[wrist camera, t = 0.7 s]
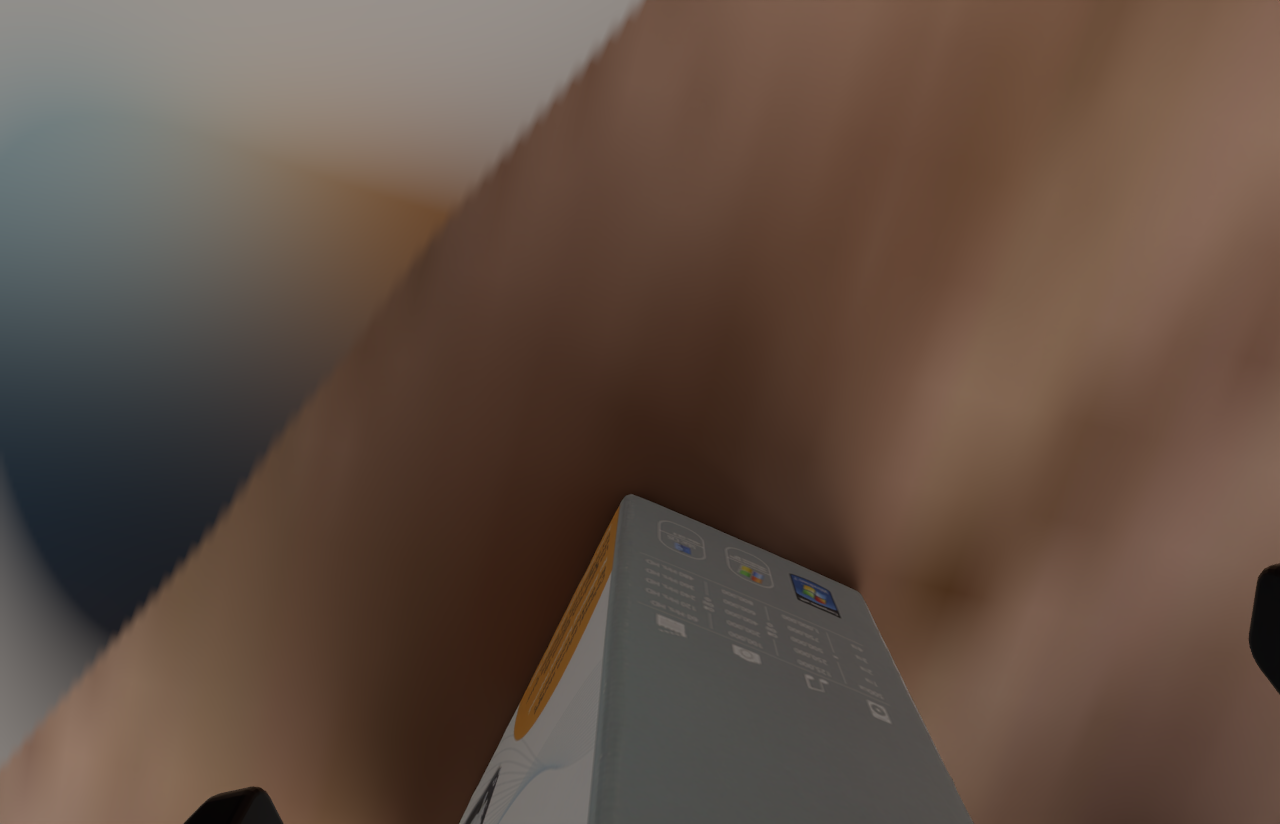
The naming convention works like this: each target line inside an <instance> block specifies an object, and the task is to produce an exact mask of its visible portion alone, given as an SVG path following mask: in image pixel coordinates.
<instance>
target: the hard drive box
mask: <svg viewBox="0 0 1280 824" xmlns="http://www.w3.org/2000/svg"><path fill="white" fill-rule="evenodd" d="M459 824H974V823H973V821H972V819H971V817H970V816H969V814H968V812H967V810H966V808H965V806H964V804H963V802H962V800H961V798H960V796H959V794H958V792H957V790H956V788H955V785H954V782H953V779H952V778H951V776H950V775H949V773H948V772H947V770H946V767H945V765H944V763H943V761H942V759H941V757H940V755H939V753H938V751H937V749H936V747H935V745H934V743H933V741H932V739H931V736H930V734H929V732H928V730H927V728H926V726H925V724H924V722H923V720H922V718H921V716H920V714H919V712H918V710H917V708H916V706H915V704H914V702H913V700H912V698H911V696H910V694H909V692H908V690H907V688H906V685H905V683H904V681H903V679H902V677H901V675H900V673H899V671H898V669H897V667H896V665H895V663H894V661H893V659H892V657H891V655H890V653H889V651H888V649H887V646H886V644H885V642H884V640H883V638H882V636H881V634H880V632H879V630H878V628H877V626H876V624H875V622H874V620H873V617H872V615H871V613H870V611H869V609H868V607H867V605H866V603H865V602H864V599H863V597H862V595H861V594H860V593H859V592H858V591H856V590H854V589H851V588H849V587H847V586H845V585H843V584H840V583H838V582H836V581H834V580H831V579H829V578H827V577H825V576H822V575H820V574H818V573H816V572H813V571H811V570H809V569H807V568H804V567H802V566H800V565H798V564H796V563H793V562H791V561H789V560H786V559H784V558H781V557H779V556H777V555H775V554H773V553H770V552H768V551H766V550H763V549H761V548H759V547H756V546H754V545H751V544H749V543H747V542H744V541H742V540H739V539H737V538H735V537H733V536H730V535H728V534H726V533H724V532H721V531H719V530H717V529H715V528H712V527H710V526H708V525H705V524H703V523H700V522H698V521H696V520H693V519H691V518H689V517H686V516H684V515H682V514H679V513H677V512H675V511H672V510H670V509H667V508H665V507H663V506H660V505H658V504H656V503H653V502H651V501H649V500H646V499H644V498H641V497H638V496H635V495H633V494H630V495H626V496H625V497H624V499H623V500H622V501H621V503H620V505H619V507H618V509H617V511H616V513H615V515H614V516H613V518H612V520H611V522H610V524H609V526H608V528H607V530H606V532H605V534H604V536H603V538H602V540H601V542H600V544H599V546H598V548H597V550H596V552H595V554H594V556H593V558H592V560H591V562H590V564H589V566H588V568H587V570H586V572H585V574H584V576H583V578H582V580H581V581H580V583H579V585H578V587H577V589H576V591H575V593H574V595H573V597H572V599H571V601H570V603H569V605H568V607H567V609H566V611H565V613H564V615H563V617H562V619H561V621H560V623H559V625H558V627H557V629H556V631H555V633H554V635H553V637H552V639H551V641H550V643H549V646H548V648H547V650H546V652H545V654H544V656H543V657H542V659H541V661H540V663H539V665H538V667H537V669H536V671H535V673H534V675H533V677H532V679H531V681H530V683H529V685H528V687H527V689H526V691H525V693H524V695H523V697H522V700H521V702H520V704H519V706H518V708H517V709H516V711H515V713H514V715H513V717H512V719H511V721H510V723H509V725H508V727H507V729H506V731H505V733H504V735H503V737H502V739H501V741H500V743H499V745H498V747H497V749H496V751H495V753H494V755H493V757H492V759H491V761H490V763H489V765H488V767H487V769H486V771H485V773H484V775H483V777H482V779H481V781H480V783H479V785H478V786H477V788H476V790H475V792H474V793H473V795H472V797H471V800H470V802H469V804H468V806H467V808H466V811H465V813H464V815H463V817H462V819H461V821H460V823H459Z"/></svg>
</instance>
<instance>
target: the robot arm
mask: <svg viewBox="0 0 1280 824" xmlns="http://www.w3.org/2000/svg"><path fill="white" fill-rule="evenodd" d="M1249 645H1250V649H1251V652H1252V655H1253V657H1254V659H1255V661H1256V663H1257V665H1258V666H1259V668H1260V669H1261V671H1262V672H1263V673H1264V675H1265V676H1266V677H1267V678H1268V680H1269V681H1270V682H1271V684H1272V685H1273V686H1274V688H1275V689H1276V690H1277V692H1278V693H1279V694H1280V564H1275V565H1271V566H1269V567H1267V568H1265V569H1264V570H1263V571H1262V573H1261V574H1260V575H1259V577H1258V580H1257V585H1256V592H1255V598H1254V605H1253V611H1252V618H1251V624H1250V631H1249ZM184 824H283V822H282V820H281V818H280V816H279V814H278V812H277V810H276V808H275V806H274V804H273V802H272V800H271V798H270V797H269V795H268V794H267V792H266V791H264V790H263V789H262V788H260V787H248V788H243V789H238V790H234V791H229V792H225V793H220V794H217V795H215V796H212V797H211V798H209V799H208V800H207V801H206V802H204V803H203V804H202V805H201V806H200V807H199V808H198V809H197V810H196V811H195V812H194V813H193V814H192V815H191V816H190V817H189V818H188V819H187V820H186V822H185V823H184Z"/></svg>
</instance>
